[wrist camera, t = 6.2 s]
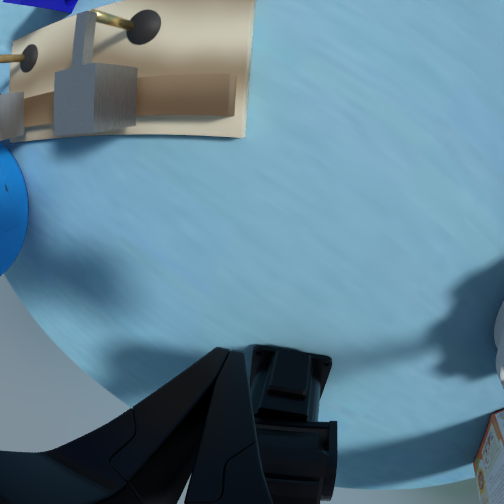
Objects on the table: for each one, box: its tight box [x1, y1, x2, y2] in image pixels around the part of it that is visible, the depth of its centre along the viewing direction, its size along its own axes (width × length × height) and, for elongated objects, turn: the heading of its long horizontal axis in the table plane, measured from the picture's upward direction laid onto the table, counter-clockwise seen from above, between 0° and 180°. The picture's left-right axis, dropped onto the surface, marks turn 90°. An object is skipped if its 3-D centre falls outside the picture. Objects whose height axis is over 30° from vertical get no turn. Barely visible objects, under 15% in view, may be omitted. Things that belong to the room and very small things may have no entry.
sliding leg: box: [54, 9, 138, 136], centre depth 14 cm, size 7×3×5 cm, turn 176°
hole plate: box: [0, 0, 256, 143], centre depth 15 cm, size 10×22×8 cm, turn 86°
